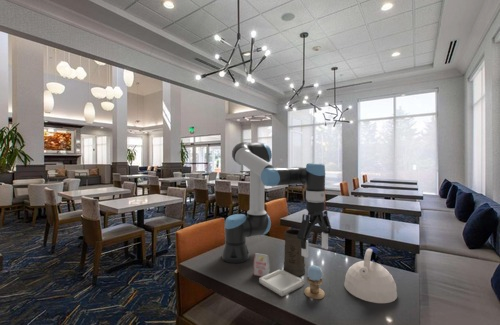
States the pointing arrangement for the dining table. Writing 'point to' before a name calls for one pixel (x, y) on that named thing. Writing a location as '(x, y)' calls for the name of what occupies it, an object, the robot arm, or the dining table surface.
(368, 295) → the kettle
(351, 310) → the dining table surface
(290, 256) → the beer stein
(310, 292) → the stand
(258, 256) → the white cardboard box
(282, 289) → the tray
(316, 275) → the ball
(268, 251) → the dining table surface
